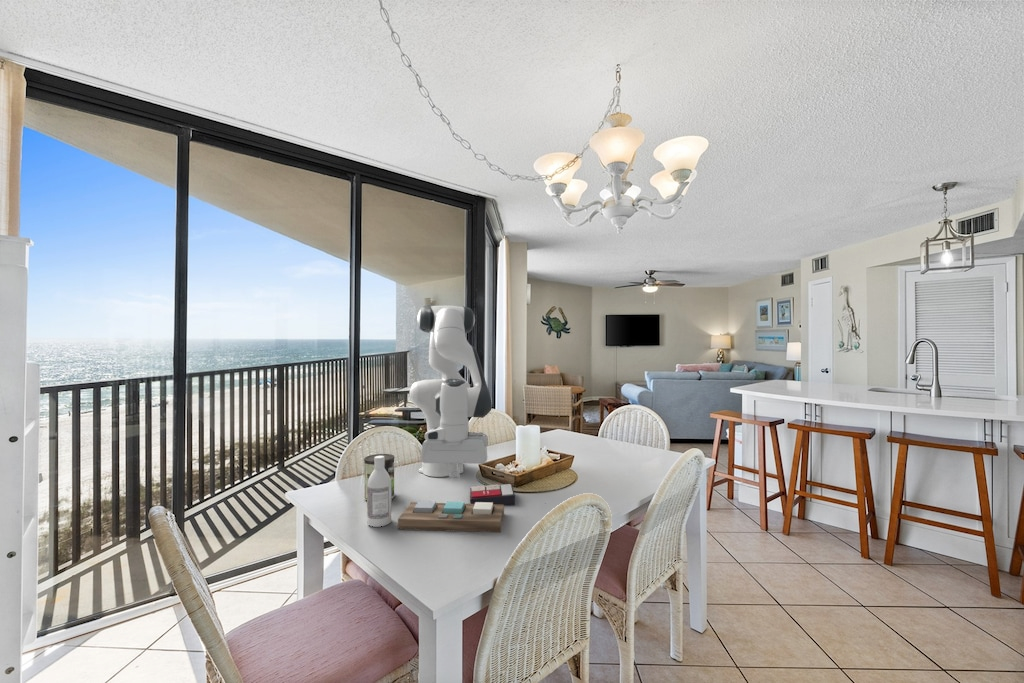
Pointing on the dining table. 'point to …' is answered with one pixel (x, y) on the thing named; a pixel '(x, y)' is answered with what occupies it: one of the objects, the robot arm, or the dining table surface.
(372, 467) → the coffee can
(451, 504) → the teal key
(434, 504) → the grey key
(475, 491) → the red and black box
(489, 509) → the cream key
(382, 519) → the bath foam
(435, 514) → the keypad
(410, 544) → the dining table surface
